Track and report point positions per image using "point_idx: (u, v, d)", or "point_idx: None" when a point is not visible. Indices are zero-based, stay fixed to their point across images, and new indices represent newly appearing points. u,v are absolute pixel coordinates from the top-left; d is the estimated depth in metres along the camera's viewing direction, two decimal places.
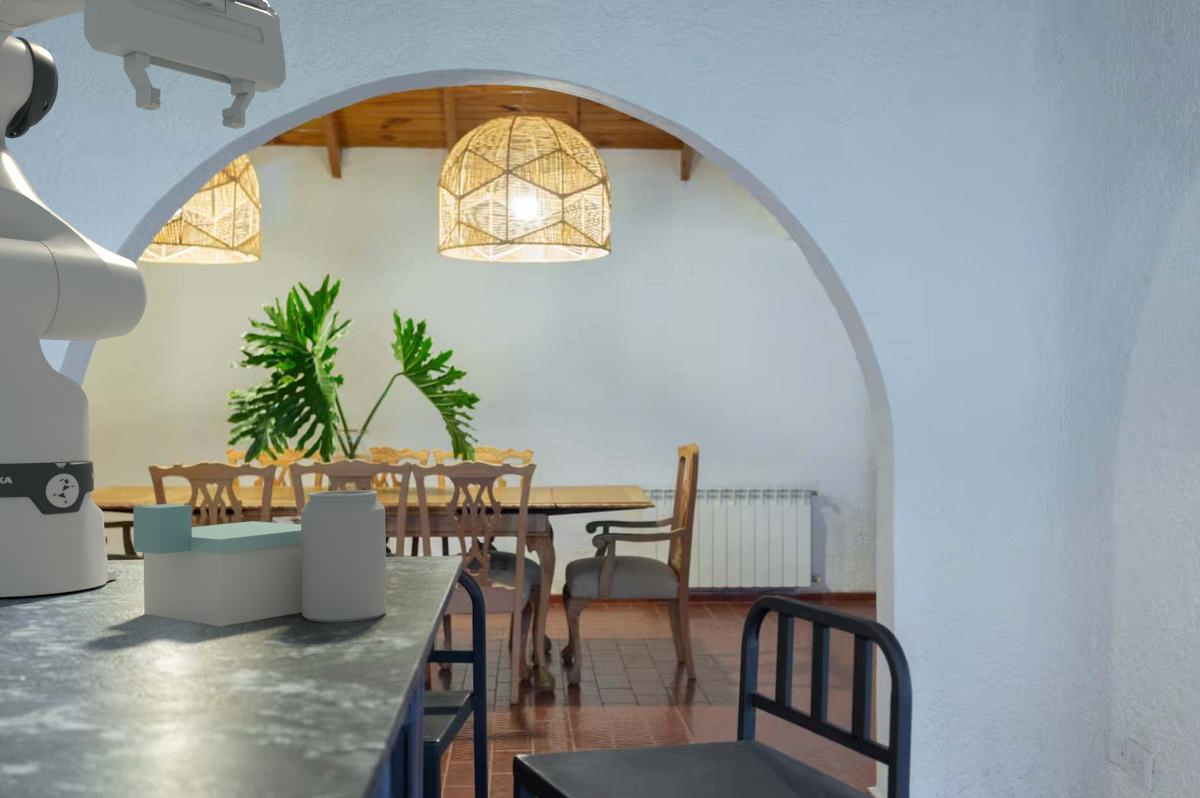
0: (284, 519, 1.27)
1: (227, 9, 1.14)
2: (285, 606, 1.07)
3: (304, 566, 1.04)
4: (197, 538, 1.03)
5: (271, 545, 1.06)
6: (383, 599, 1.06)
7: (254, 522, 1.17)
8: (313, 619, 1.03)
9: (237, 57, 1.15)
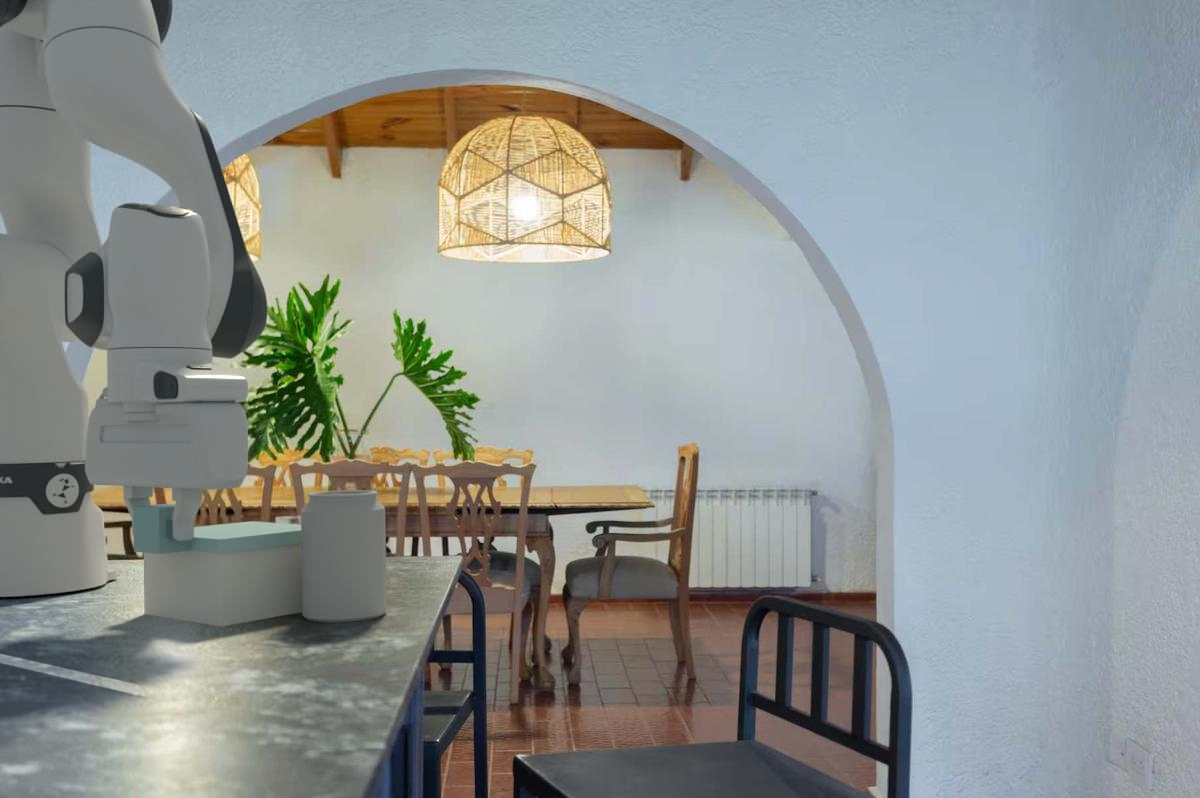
0: (284, 519, 1.27)
1: None
2: (285, 606, 1.07)
3: (304, 566, 1.04)
4: (197, 538, 1.03)
5: (271, 545, 1.06)
6: (383, 599, 1.06)
7: (254, 522, 1.17)
8: (313, 619, 1.03)
9: None
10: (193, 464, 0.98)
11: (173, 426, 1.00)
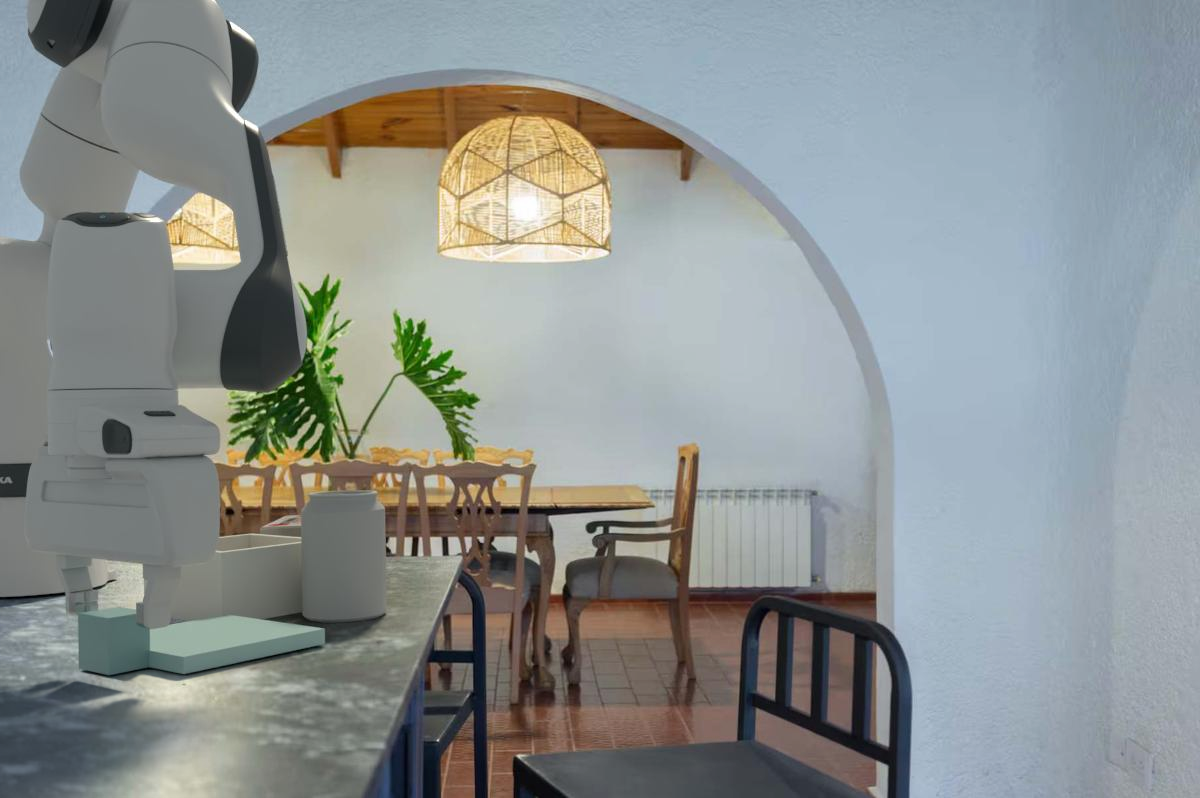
0: (286, 518, 1.28)
1: None
2: (285, 606, 1.07)
3: (304, 566, 1.04)
4: (156, 653, 0.84)
5: (248, 658, 0.86)
6: (383, 599, 1.06)
7: (230, 617, 0.98)
8: (313, 619, 1.03)
9: None
10: (150, 534, 0.79)
11: (128, 486, 0.81)
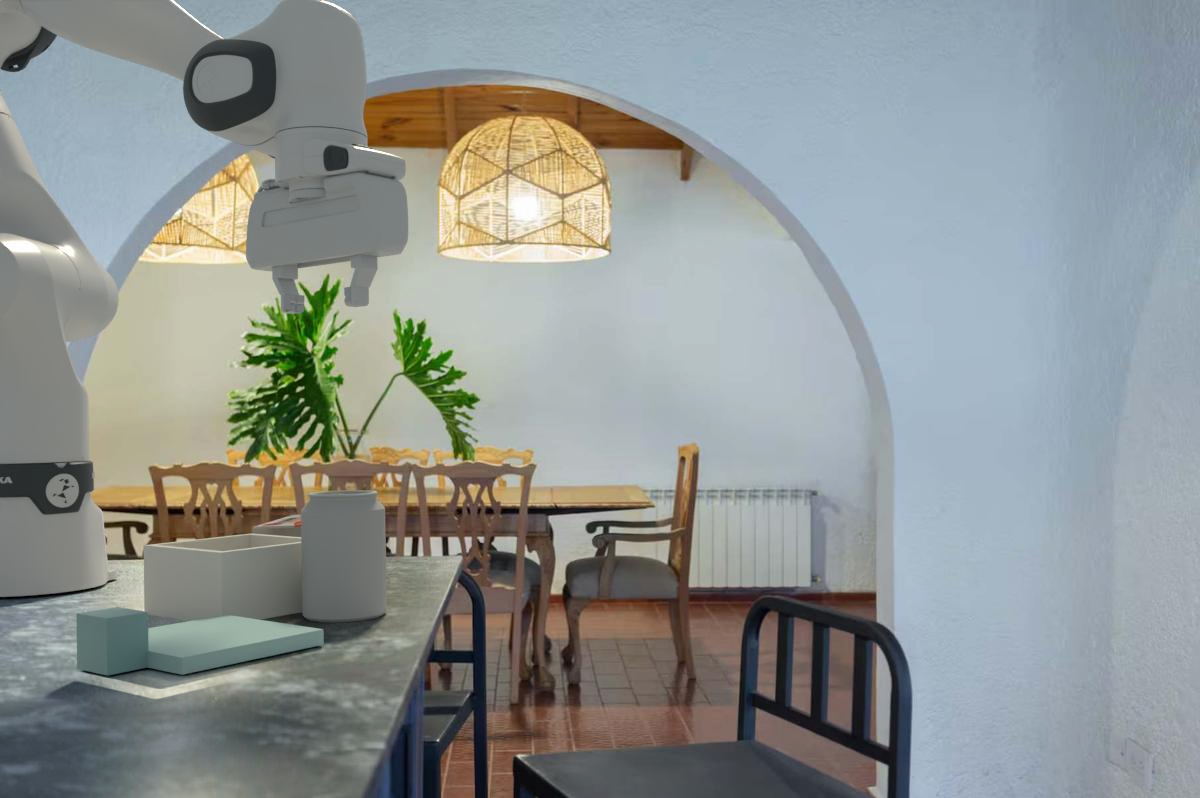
0: (288, 517, 1.29)
1: None
2: (285, 606, 1.07)
3: (304, 566, 1.04)
4: (155, 653, 0.84)
5: (246, 659, 0.86)
6: (383, 599, 1.06)
7: (229, 617, 0.98)
8: (313, 619, 1.03)
9: None
10: (360, 229, 1.07)
11: (339, 199, 1.10)
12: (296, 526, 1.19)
